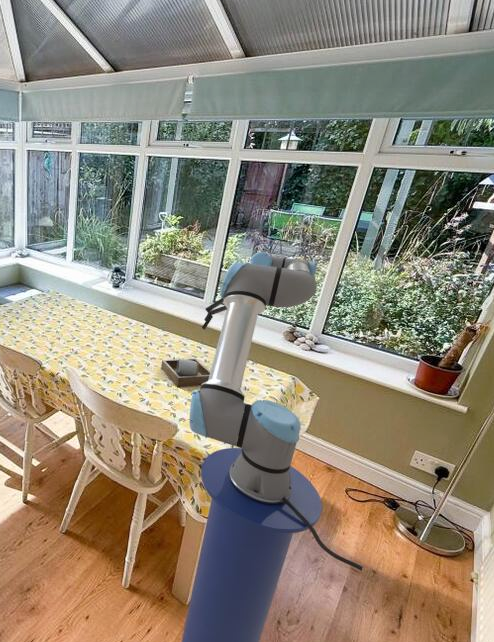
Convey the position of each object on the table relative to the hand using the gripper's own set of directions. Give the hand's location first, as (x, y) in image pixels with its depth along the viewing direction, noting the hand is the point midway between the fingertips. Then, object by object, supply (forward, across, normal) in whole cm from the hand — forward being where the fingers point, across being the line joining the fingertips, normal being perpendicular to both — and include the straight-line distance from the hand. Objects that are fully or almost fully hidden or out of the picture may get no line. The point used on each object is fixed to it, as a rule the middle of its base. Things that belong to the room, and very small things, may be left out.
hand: (217, 336), depth 169 cm
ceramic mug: (+21, +4, -4) cm, 21 cm away
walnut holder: (+21, +3, -4) cm, 22 cm away
